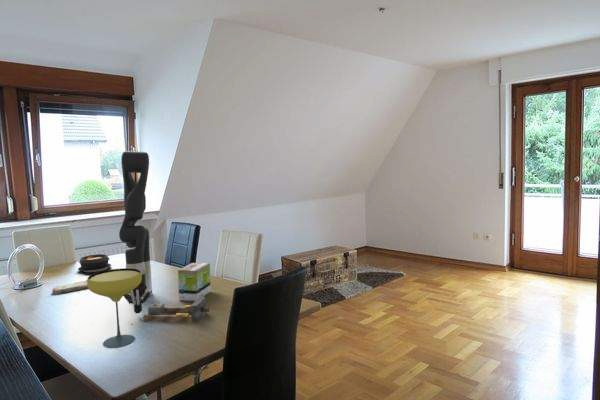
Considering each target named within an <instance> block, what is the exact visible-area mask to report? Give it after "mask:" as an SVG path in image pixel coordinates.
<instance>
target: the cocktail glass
mask: <svg viewBox="0 0 600 400" xmlns="http://www.w3.org/2000/svg"><path fill="white" fill-rule="evenodd" d="M86 280H87V286H88V289H87V290H89V291H90V292H92V293H94V294H96V295H99V296H102V297H106V298H108V299H110V300H111V301H112V302H113V303H115V311H116V326H117V327H116V329H117V330H116V335H114V336H111V337H109V338H107V339H105V340H104V341H103V342H102V346H104V347H105V348H109V349H114V348H116V349H117V348H123V347H126V346H128V345H131V344H132V343H133V342H134V341H135V340H136V337H135V336H134V335H133V334H121V330H120V329H121V328H120V319H119V316H120V315H119V306H118V305H119V302H120V301H121V299H122V298H123V297H124V295H125V294H127V293H128V292H130V291H132V290H133V289H135V288H136V287H137V286H138V285H139V284H140V283H141V280H142V275H141V272H140V271H139V270H137V269H130V268H126V267H125V268H124V267H123V268H114V269H106V270H104V271H99V272H94V273H93V274H91V275H89V276H88V277H87V279H86Z"/></svg>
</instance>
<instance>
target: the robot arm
mask: <svg viewBox="0 0 600 400" xmlns="http://www.w3.org/2000/svg"><path fill="white" fill-rule="evenodd" d="M120 161H121V171H122V179H123V205H124V206H123V207H124V218H123V220H122V224H121V226H120V229H119V233H118V235H119V239H120V242H122V243H124V244H126V247H127V249H126V250H125V251H124V253H125V254H124V255H125V268H130V269H137V270H139V271H140V272H141V275H142V280H141V283H140V284H139V285H138V286H137V287H136V288H135V289H133V290H132V291H130V292H128V293H127V294H125V295H124V296H123V297H124V299H125V300H126V301H127V302H128V303H129V304H132V305H133V311H134V313H135V314H140V313H142V311H143V304H144V303H146V302H147V301H148V299H149V298H150V297H151V296H152V295H153V283H152V282H153V281H152V265H151V254H150V232H149V229H148V228H147V227H145V226H144V225H136V223H137V222H139V221H141V220H142V219H143V217H144V213H145V211H146V209H147V208H146V207H147V206H146V205H147V202H146V201H147V197H146V194H145V193H146V190H147V189H146V187H147V183H148V175H149V170H150V169H149V168H150V155H149V153H148V152H146V151H133V150H132V151H131V150H125V151H123V152H122V154H121V159H120ZM132 173H135V174H140V175H139V178H138V181H137V182H136V181H135V179H134V177H133V175H132Z"/></svg>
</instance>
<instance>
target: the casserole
mask: <svg viewBox="0 0 600 400" xmlns="http://www.w3.org/2000/svg"><path fill="white" fill-rule="evenodd" d="M109 260H110V258H109V256H108V255H107V254H103V253H102V254H99V253H98V254H96V253H95V254H91V255H85V256H82V257H80V260H79V261H78V263H79V264H80V267H78V268H77V271H80V272H84V273H98V272H101V271H106V270H109V268H110V267H112V264H111V263H109Z"/></svg>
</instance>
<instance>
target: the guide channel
mask: <svg viewBox="0 0 600 400" xmlns="http://www.w3.org/2000/svg"><path fill="white" fill-rule="evenodd" d="M209 312H210V307H209V306H207V297H206V296H203V297H199V298H198V299H197V300H196V301H193V303H192V304H191V305H190V304H189V305H188V304H187V305H186V304H185V305H184V306H164V313H165V315H148V314H143V316H142V322H143V323H181V324H182V323H185V324H186V323H189V324H191V323H192V324H193V323H194V324H199V322H200V321H201V320H202V319H203V318H204V317H205V315H206V314H207V313H209Z"/></svg>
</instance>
